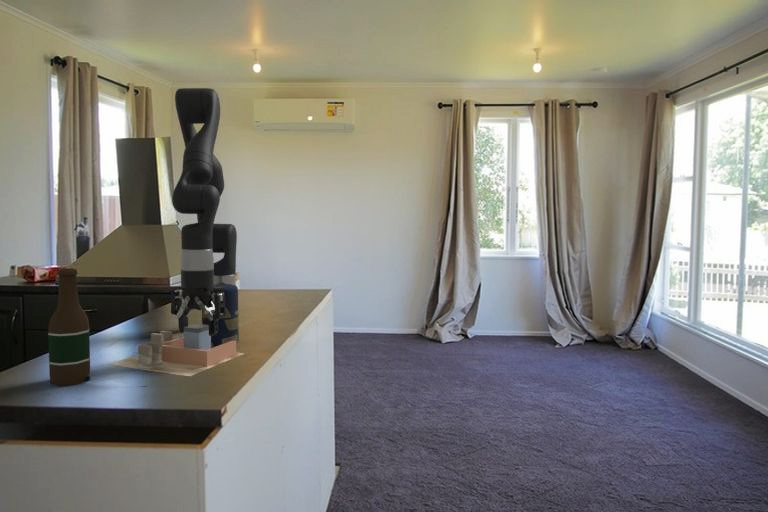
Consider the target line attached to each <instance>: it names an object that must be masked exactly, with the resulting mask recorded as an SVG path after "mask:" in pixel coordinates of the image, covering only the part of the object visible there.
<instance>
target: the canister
mask: <svg viewBox="0 0 768 512" xmlns="http://www.w3.org/2000/svg"><path fill="white" fill-rule="evenodd" d="M219 283H222V284H219ZM212 290H213V293H214V294H218V293H224V295H225V311H226V316H225V317H222V318H220V319H219V320H218V333H217V334H216V335H214V336H211V348H213V347H216V346H219V345H222V344H224V343H227V342H230V341H236V345H237V344H238V343H239V340H240V339H239V326H240V324H239V319H240V318H239V289H238V286H237V285H236V286H235V285H232V284H225V283H224V282H218V283H216V284H214V286H213V288H212ZM212 302H213V300H212ZM213 304H214V302H213ZM207 308H209V306H208V307H207ZM209 321H210V320H209V318H208V317H207V315H206V314H204V313H203V311H202V310H201V324H202V325H209Z"/></svg>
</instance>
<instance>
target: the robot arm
mask: <svg viewBox="0 0 768 512" xmlns="http://www.w3.org/2000/svg"><path fill="white" fill-rule="evenodd" d="M174 94H175V95H174V101H175V109H176V113H177V118H178V122H179V127H180V131H181V134H182V139H183V143H184V151H183V157H182V172H181V174H180V177H179V179H178V181H177V183H176V185H175V187H174V190H173V192H172V195H171V196H172V197H171V199H172V200H171V201H172V202H171V203H172V206H173V208H174V210H175V211H176V212H177V213H179V214H184V215H196V218H197V219H196V220H197V222H194V223H188V224H186V225H183V226H182V227H181V230H180V232H181V233H180V235H181V237H180V238H181V250H180V251H181V253H180V287H181V288H182V289H174V290H172V291H171V295H170V296H171V297H170V299H171V300H170V314H171V315H174V316H175V317H177V319H178V330H179V333H182V334H184V327H187V326H189V316H188V315H189V313H190V312H191V310H197V311H201V312H202V311H203V313H204V314H206V315H207V317H208V318H209V320H210V321H209V336H214V335H216V334H217V333H218V320H219V319H220V318H222V317H225V316H226V311H225V295H224V293H218V294H214V293H213V290H212V288H213V286H214V284H216V283H218V282H224V283H225V284H232V285H235V286H237V284H236V282H237V281H236V280H237V279H236V278H237V277H236V274H237V273H236V269H237V268H236V267H237V261H236V260H237V258H236V257H237V241H238V234H237V233H238V232H237V228H236V226H235V225H234V224H233V223H232V224H231V223H215V218H216V216H217V212H218V210H219V209H218V208H219V205H220V201H221V196H222V194H223V193H224V189H225V179H224V171H223V166H222V164H221V162H220V161H219V158H217V157H216V156H215V154H214V150H215V145H216V139H217V135H218V131H219V127H220V126H219V125H220V119H221V102H220V98H219V93H218V92H217V91H216V90H215V89H213V88H209V87H186V88H185V87H182V88H178V89H176V92H175V93H174ZM194 124H195V125H199V124H203V125H202V127H201V128H200V129H199V130H198V132H197V130H196V128H195V125H194ZM215 253H216V254H218V253H219V254H222V253H223V257H222V258H221V259H220V260H218V261H215V260H214V259H215V258H214V254H215ZM219 284H222V283H219ZM212 300H213V302H214V304H213V302H212ZM208 306H209V308H207V307H208Z"/></svg>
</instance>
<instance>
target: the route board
mask: <svg viewBox="0 0 768 512" xmlns="http://www.w3.org/2000/svg"><path fill="white" fill-rule="evenodd" d="M170 340H173V331H171V330H170V331H168V330H161V331H159V333H154V332H152V333H151V334H150V341H148V343H147V344H139V345H138V346H137V352H138V353H137V354H136V355H134V356H130V357H127V358H124V359H121V360H118V361H114V362H111V363H109V364H107V365H108V366H114V367H122V368H128V369H136V370H142V371H150V372H156V373H163V374H170V375H171V374H172V375H175V376H176V375H177V376H185V377H192V376H194V375H197V374H199V373H201V372H204V371H206V370H208V369H212V368H213V367H216V366H218V365H220V364H223V363H225V362H228V361H230V360H233V359H236V358H238V357H240V356H243V355H245V353H244V352H243V353H242V352H239V354H238V355H235V356H233V357H230V358H228V359H226V360H223V361H221V362H218V363H216V364H213V365H211V366H208V367H204V366H196V365H189V364H181V363H174V362H166V361H162V343H163V342H167V341H170Z"/></svg>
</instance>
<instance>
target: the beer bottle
mask: <svg viewBox="0 0 768 512" xmlns="http://www.w3.org/2000/svg"><path fill="white" fill-rule="evenodd" d="M57 271H58V272H57V274H56V275H57V276H58V277H59V278H58V297H57V299H58V300H57V306H56V309H55V311H54V312H53V314H52V315H51V317H50V320H49V323H48V329H47V330H48V331H47V332H48V333H47V338H48V339H47V340H48V341H47V342H48V365H49V369H48V370H49V382H50V383H49V384H50V385H51V386H55V385H56V386H57V387H67V386H75V385H76V386H77V385H80V384H82V383H86V382H88V381H89V380H90V374H91V350H90V349H91V348H90V347H91V346H90V345H91V344H90V343H91V342H90V341H91V340H90V322H89V317H88V315H87V313H86V311H85V310H84V309H83V308H82V306H81V305H80V300H79V293H78V292H79V291H78V283H77V275H78V271H77V268H60V269H58V270H57Z"/></svg>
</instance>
